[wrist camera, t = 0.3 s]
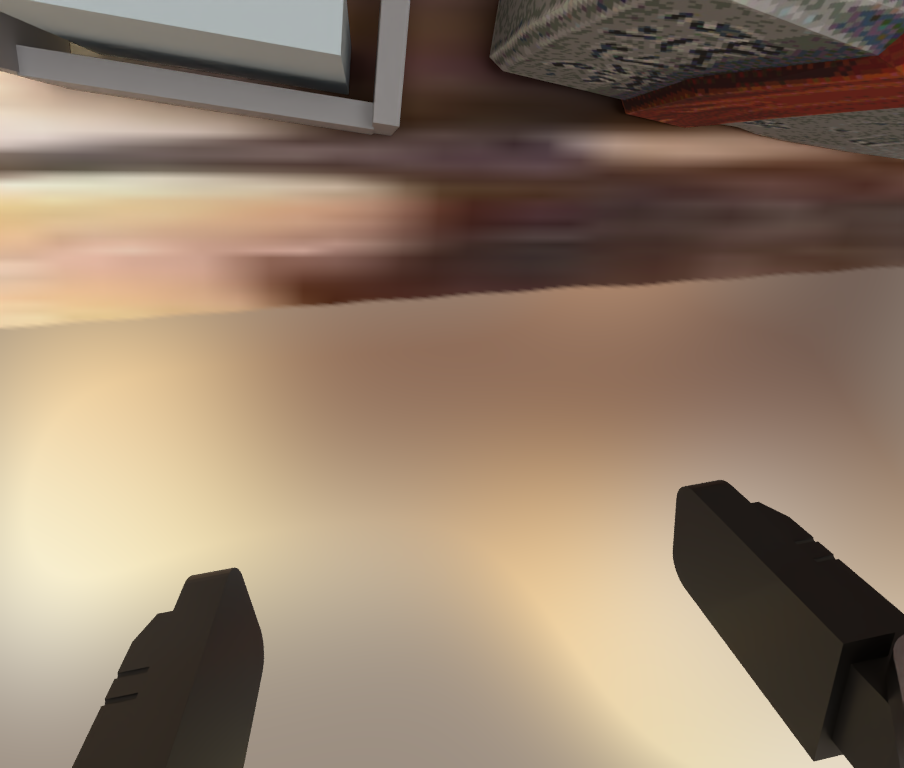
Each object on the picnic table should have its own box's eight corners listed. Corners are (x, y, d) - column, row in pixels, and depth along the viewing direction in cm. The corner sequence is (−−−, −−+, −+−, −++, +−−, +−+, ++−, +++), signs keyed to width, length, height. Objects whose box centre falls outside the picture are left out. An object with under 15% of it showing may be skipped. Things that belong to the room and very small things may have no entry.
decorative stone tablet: (667, -13, 14) (1285, 189, 22) (760, -373, 11) (1409, 4, 20) (467, 81, 31) (857, 174, 39) (488, -55, 29) (897, 74, 37)
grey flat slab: (95, 1, 28) (-80, -108, 17) (351, 47, 30) (344, -22, 19) (100, 54, 29) (-64, -17, 18) (348, 95, 31) (340, 55, 20)
